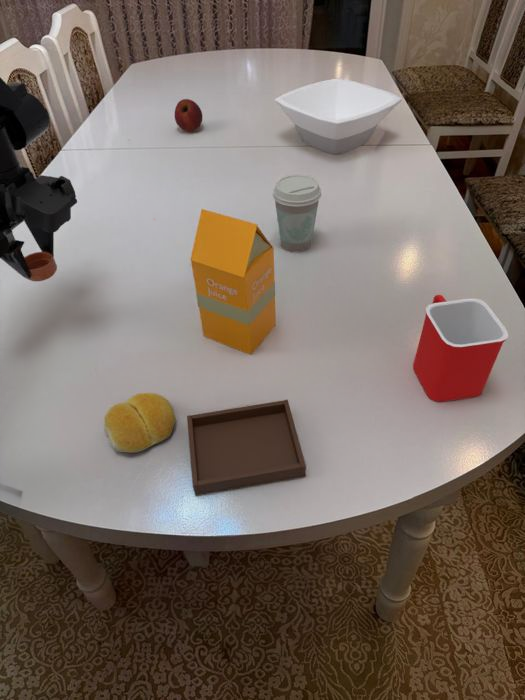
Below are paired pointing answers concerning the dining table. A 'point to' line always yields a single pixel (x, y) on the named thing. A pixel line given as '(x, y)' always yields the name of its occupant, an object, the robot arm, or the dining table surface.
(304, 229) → the coffee cup
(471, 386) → the mug
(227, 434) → the serving tray
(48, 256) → the side dish
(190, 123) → the apple
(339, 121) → the bowl
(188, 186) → the dining table surface
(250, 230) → the orange juice
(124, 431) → the bread roll
